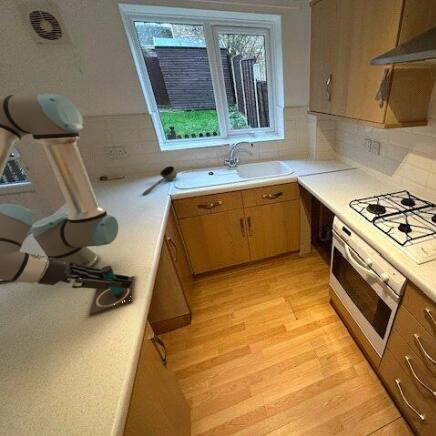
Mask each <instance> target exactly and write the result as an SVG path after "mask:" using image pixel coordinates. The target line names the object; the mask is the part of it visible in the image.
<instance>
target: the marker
mask: <svg viewBox="0 0 436 436" xmlns="http://www.w3.org/2000/svg"><path fill="white" fill-rule="evenodd" d="M100 269H101V270H100V271H101V273H102V275H103V276H104V278H108V279H112V278H116V276H115V274H116V273H114V270H113V268H112V266H111V265H106V266H103V267H102V268H100ZM109 287H110V289H111V291H112V293H113V295H114V297H115V298H118V297H121V296H122V295H123V291H122V289H121V288H119V287H111V286H109Z"/></svg>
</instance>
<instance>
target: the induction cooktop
mask: <svg viewBox="0 0 436 436" xmlns="http://www.w3.org/2000/svg"><path fill="white" fill-rule="evenodd" d="M128 280H130V281H132V283H131V285H130V287H129V289H127V288H121V289H122V291H123V295H122V296H121V297H118V298H115V297H114V295H113V293H112V291H111V289H110V287H109V288H108V289H107V290H105V289H95V294H94V296H93V301H92V304H91V307H90V311H89V316H95V315H97V314H101V313H104V312H107V311H110V310H114V309H116V308H119V307H122V306H125V305H128V304H131V303H133V300H134V291H135V290H134V289H135V283H136V276H135V275H132V276H129V279H128ZM130 296H131V297H130ZM124 300H125V302H124ZM129 300H130V301H129ZM122 301H123V303H122ZM114 304H115V305H114Z"/></svg>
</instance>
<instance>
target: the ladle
mask: <svg viewBox="0 0 436 436" xmlns="http://www.w3.org/2000/svg"><path fill="white" fill-rule="evenodd" d="M159 175H160V176H161V177H162V178H160V179H159V180H158V181H157V182H156V183H154V184H153V185H151V186H150V187H149V188H147V189H146V190H144V191H143V193H142V196H146V195H147V194H149V193H151V191H153V190H154V189H155V188H156V187H158V185H160V184H162V183H163V182H164V181H168V182H170V181H173V180H175V179H176V178H177V175H178V172H177V170H176V169H175V167H174V166H171V165H170V166H167V167H165V168H163V169H162V170H161V171H160V173H159Z"/></svg>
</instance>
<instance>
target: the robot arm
mask: <svg viewBox="0 0 436 436" xmlns="http://www.w3.org/2000/svg"><path fill="white" fill-rule="evenodd" d="M83 129H84V119H83V117H82V114H81V112H80V111H79V109H78V108H77V107H76V106H75V104H74V103H73V102H71V101H70V99H68V98H66V97H64V96H62V95H59V94H54V93H53V94H52V93H33V94H32V93H30V94H6V95H2V96H0V180H1V179H2V177H3V174H4V172H5V169H6V165H7V164H8V163H7V162H8V161H9V158H10V156H11V153H12V150H13V147H14V146H17V145H19V144H20V143H21V141H22V139H23V137H25V136H27V135H32V138H33V140H34V141H35V142H37V143H39V144H41V145H42V146H43V149H44V151H45V153H46V156H47V159H48V161H49V163H50V165H51V168H52V171H53V173H54V175H55V178H56V180H57V183H58V185H59V188H60V190H61V192H62V194H63V197H64V200H65V201H66V204H67V206H68V209H69V211H70V213H69V214H68V213H66V212H59V213H55V214H52V215H49V216H46V217H44V218H42V219H41V218H40V219H38V220H37V221H35V222H34V220H35V213H34V212H33V210H32V209H29V208H27V207H25V206H22V205H19V204H15V203H13V204H12V203H3V204H0V284H2V283H7V282H16V283H17V282H18V283H24V284H25V283H27V284H35V283H37V284H38V285H45V286H54V285H56V284H58V283H59V282H63V283H67V284H72V286H71V288H72V289H92V290H97V289H105V290H107V289H108V288H109V286H111V287H119V288H127V289H129V287H130V285H131V283H132V281H130V280H128V279H129V277H130V276H129V275H124V274H118V273H114V274H115V276H116V278H112V279H108V278H104V276H103V275H102V273H101V271H100V270H101V269H102V268H100V267H95V265H97V263H98V261H99V258H98V256H97V254H96V253H95V252H94V251H93V250H92V249H90V247H102V246H107V245H110V244H112V243H114V241H115V240H116V239H117V237H118V233H119V222H118V220H117V218H116V217H115V216H113V215H111V214H108V213H107V210H106V209H105V208H103V207H101V206H100V204H99V202H98V199H97V197H96V194H95V190H94V187H93V185H92V183H91V179H90V177H89V174H88V171H87V168H86V166H85V163H84V160H83V157H82V155H81V152H80V149H79V147H78V144H77V142H79V140H80V139H81V136H80V132H82V130H83ZM29 231H30V232H31V235H32V238H34V240H35V241H36V243H37V244H38V245H39V247H40V248H41V250H42V252H43V253H44V254H45V255H46V256H45V255H40V253H34V254H33V253H28V252H24V251H21V248H22V246H23V244H24V242H25V240H26V239H27V236H28V234H29Z"/></svg>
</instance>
